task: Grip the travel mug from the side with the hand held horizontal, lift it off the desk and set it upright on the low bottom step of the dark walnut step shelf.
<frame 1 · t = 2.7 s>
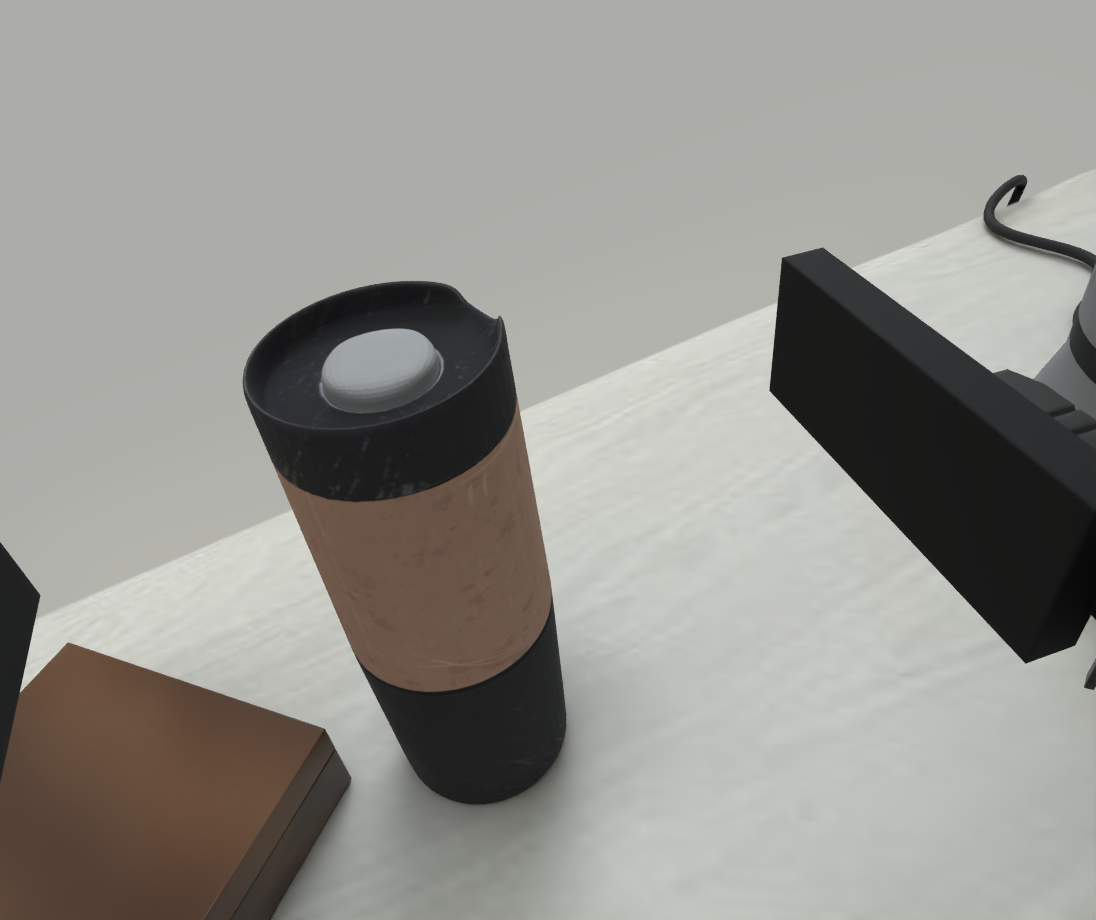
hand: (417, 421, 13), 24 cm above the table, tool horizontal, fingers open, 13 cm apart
travel mug: (487, 729, 36), on the table
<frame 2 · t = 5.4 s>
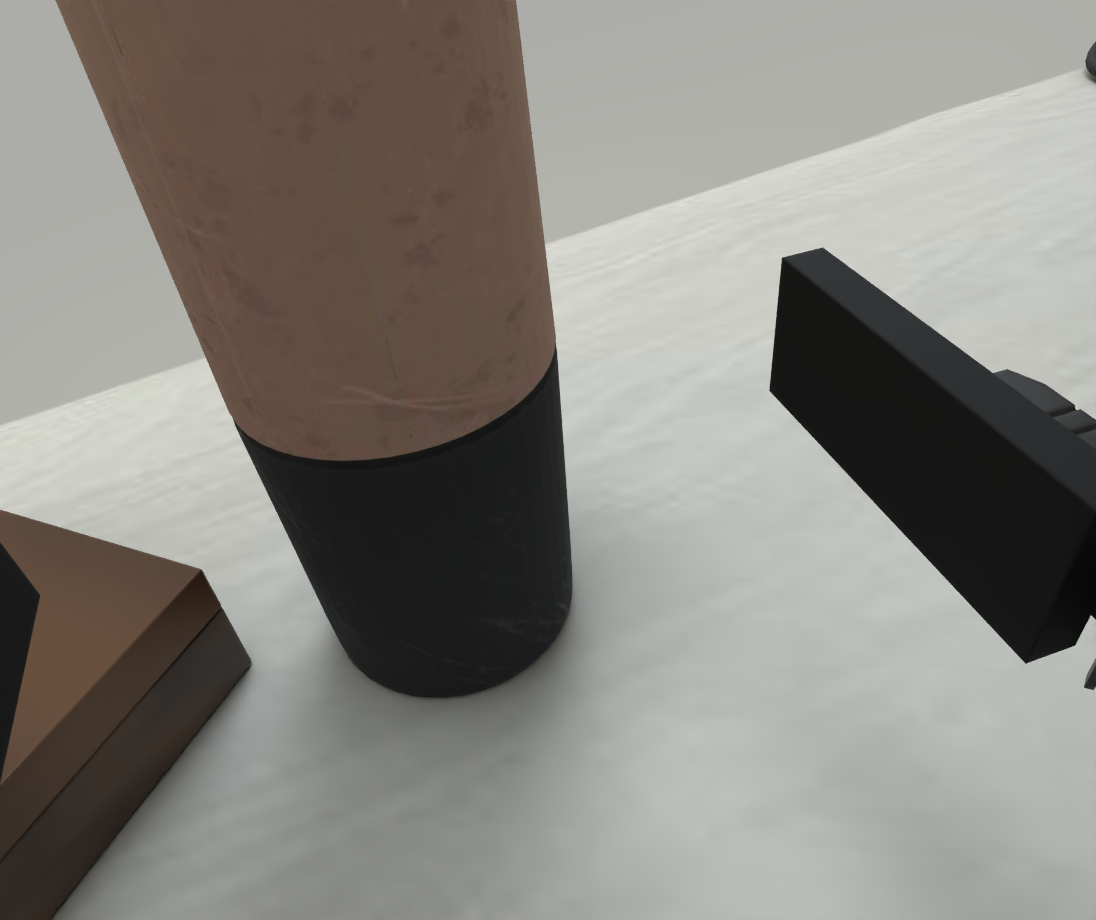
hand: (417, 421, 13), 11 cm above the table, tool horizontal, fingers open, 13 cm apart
travel mug: (456, 600, 25), on the table
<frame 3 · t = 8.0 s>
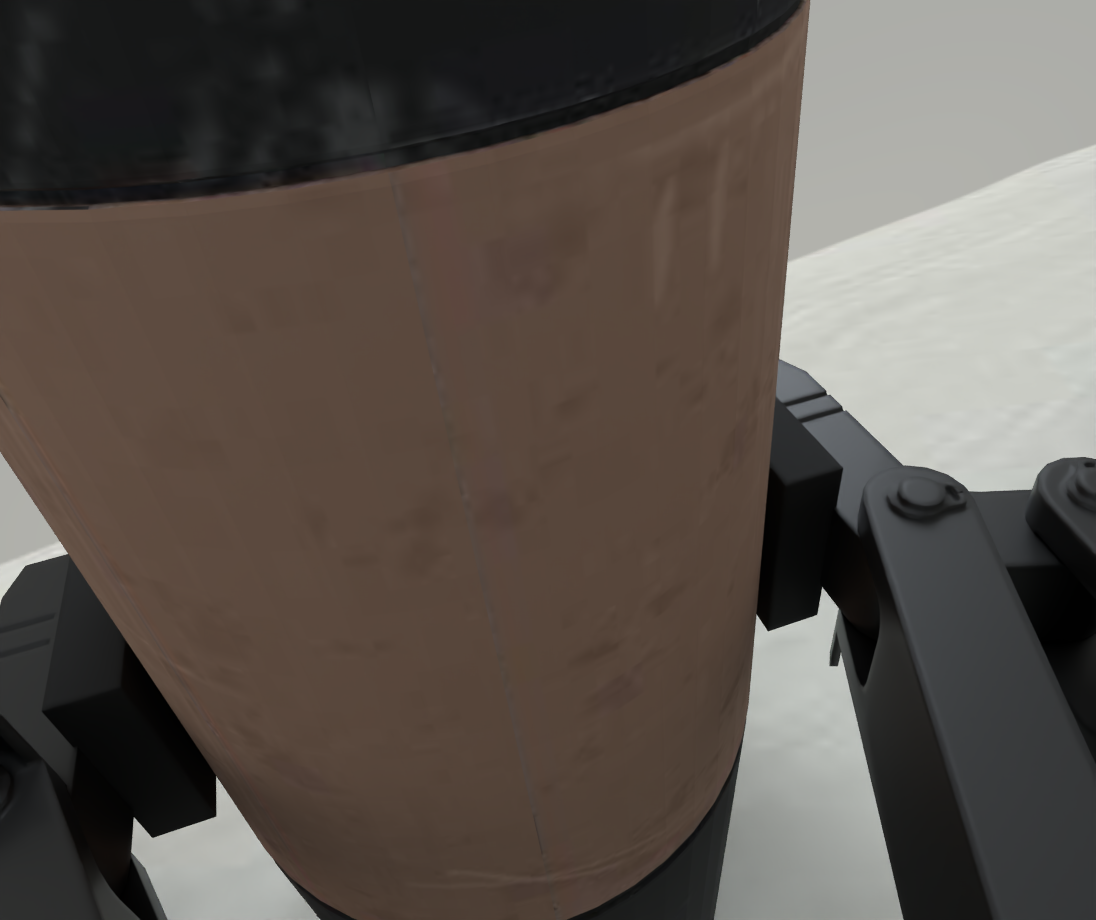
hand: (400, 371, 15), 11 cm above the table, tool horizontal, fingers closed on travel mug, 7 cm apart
travel mug: (546, 905, 18), on the table, touching gripper
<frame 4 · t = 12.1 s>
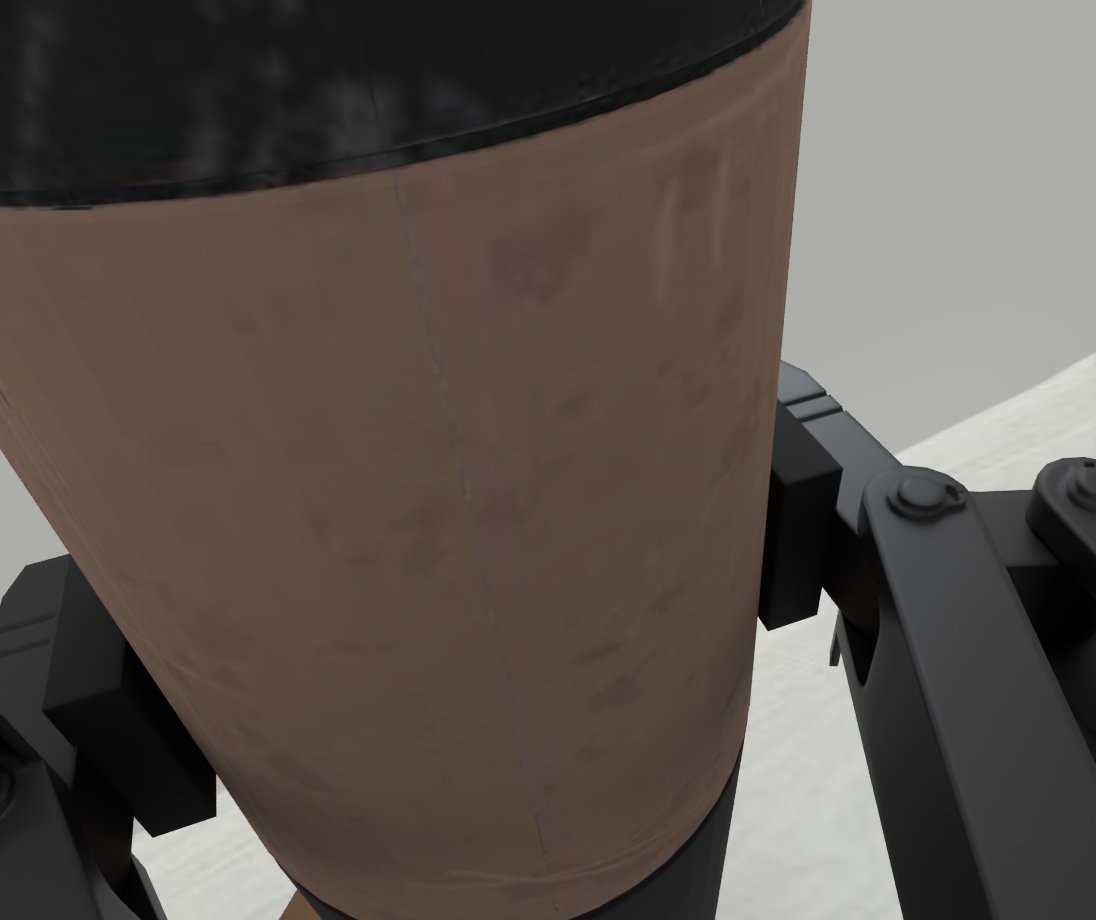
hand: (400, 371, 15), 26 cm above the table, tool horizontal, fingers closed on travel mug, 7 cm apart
travel mug: (547, 905, 18), point 15 cm above the table, touching gripper
when the fingers open (15 cm above the table, at t = 16.3 s): travel mug stays where it is, resting on walnut shelf.
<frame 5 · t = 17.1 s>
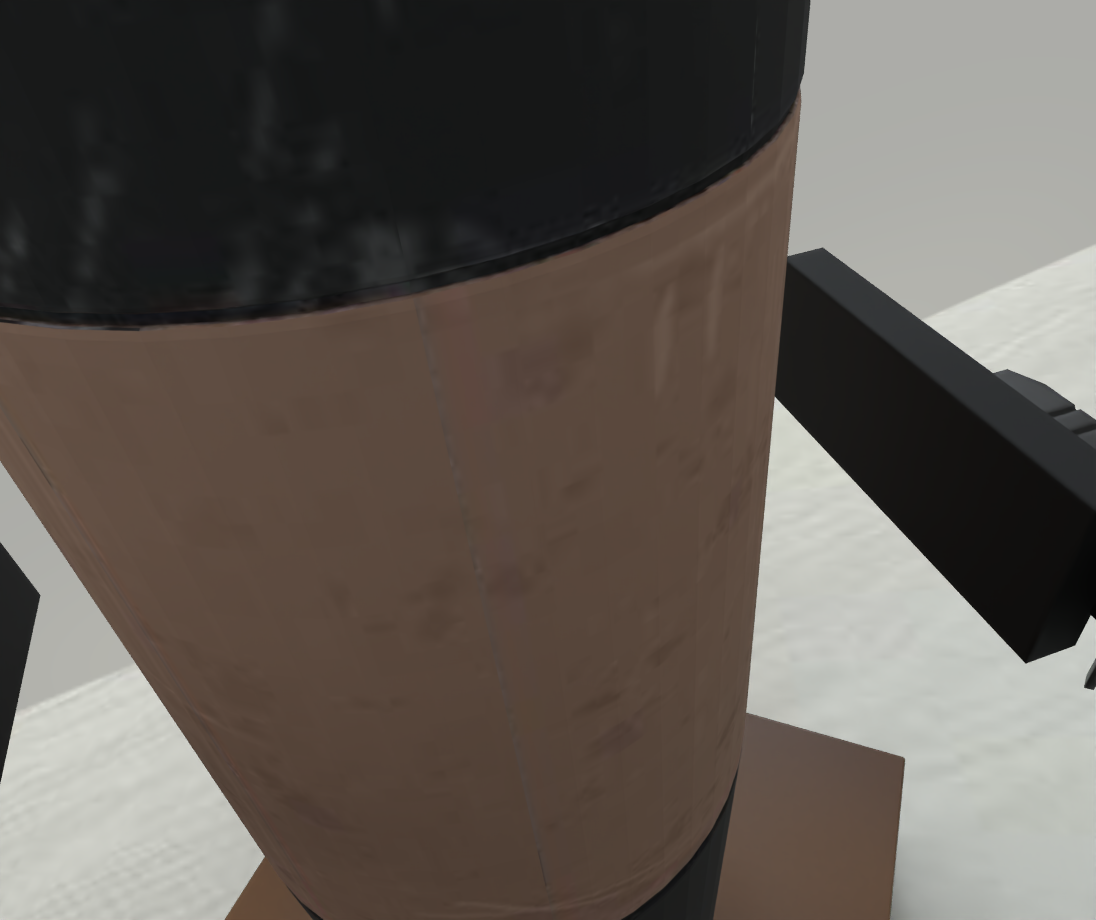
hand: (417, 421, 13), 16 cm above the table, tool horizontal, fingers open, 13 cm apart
travel mug: (546, 919, 19), point 4 cm above the table, touching walnut shelf
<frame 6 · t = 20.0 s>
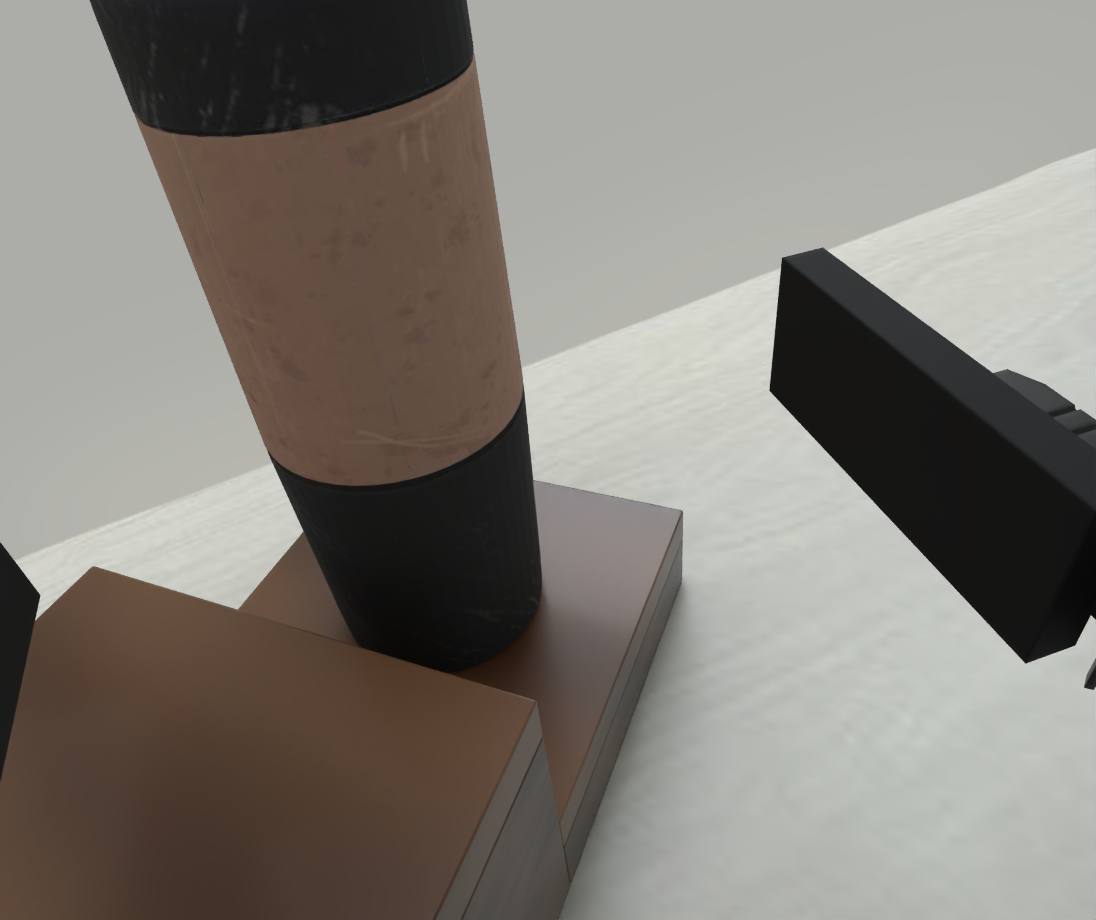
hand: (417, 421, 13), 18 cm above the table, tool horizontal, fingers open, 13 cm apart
travel mug: (445, 595, 30), point 4 cm above the table, touching walnut shelf
walnut shelf: (406, 759, 29), on the table
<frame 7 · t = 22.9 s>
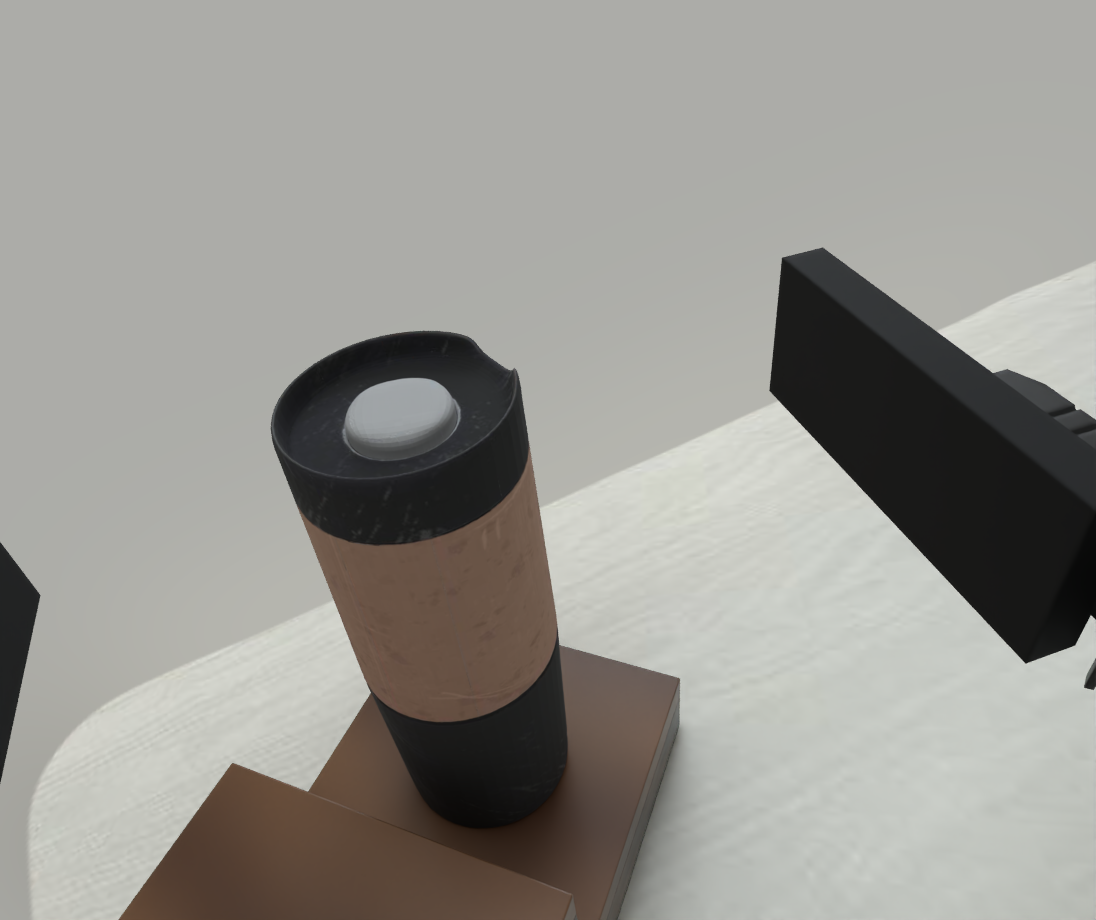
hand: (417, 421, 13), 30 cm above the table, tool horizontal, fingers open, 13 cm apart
travel mug: (490, 754, 38), point 4 cm above the table, touching walnut shelf
walnut shelf: (460, 886, 37), on the table
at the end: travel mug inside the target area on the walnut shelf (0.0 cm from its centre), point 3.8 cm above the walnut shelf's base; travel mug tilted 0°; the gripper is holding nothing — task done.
